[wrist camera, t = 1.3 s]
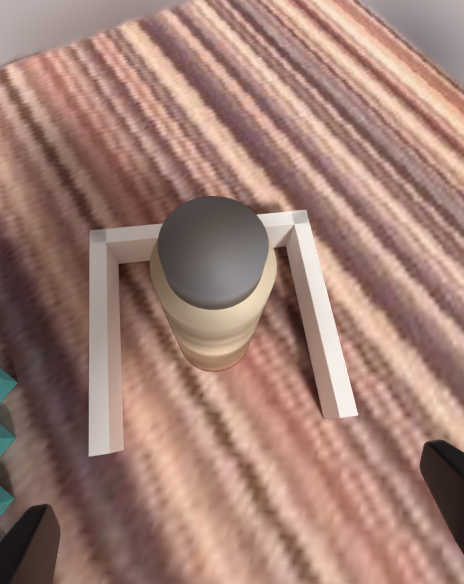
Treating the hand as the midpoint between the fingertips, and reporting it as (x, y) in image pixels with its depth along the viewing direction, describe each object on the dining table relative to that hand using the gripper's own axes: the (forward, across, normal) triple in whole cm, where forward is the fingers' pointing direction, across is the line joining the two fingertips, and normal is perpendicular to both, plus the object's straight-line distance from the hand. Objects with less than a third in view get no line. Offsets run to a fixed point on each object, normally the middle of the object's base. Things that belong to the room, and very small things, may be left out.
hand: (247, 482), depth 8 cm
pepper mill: (+14, 0, +4) cm, 15 cm away
